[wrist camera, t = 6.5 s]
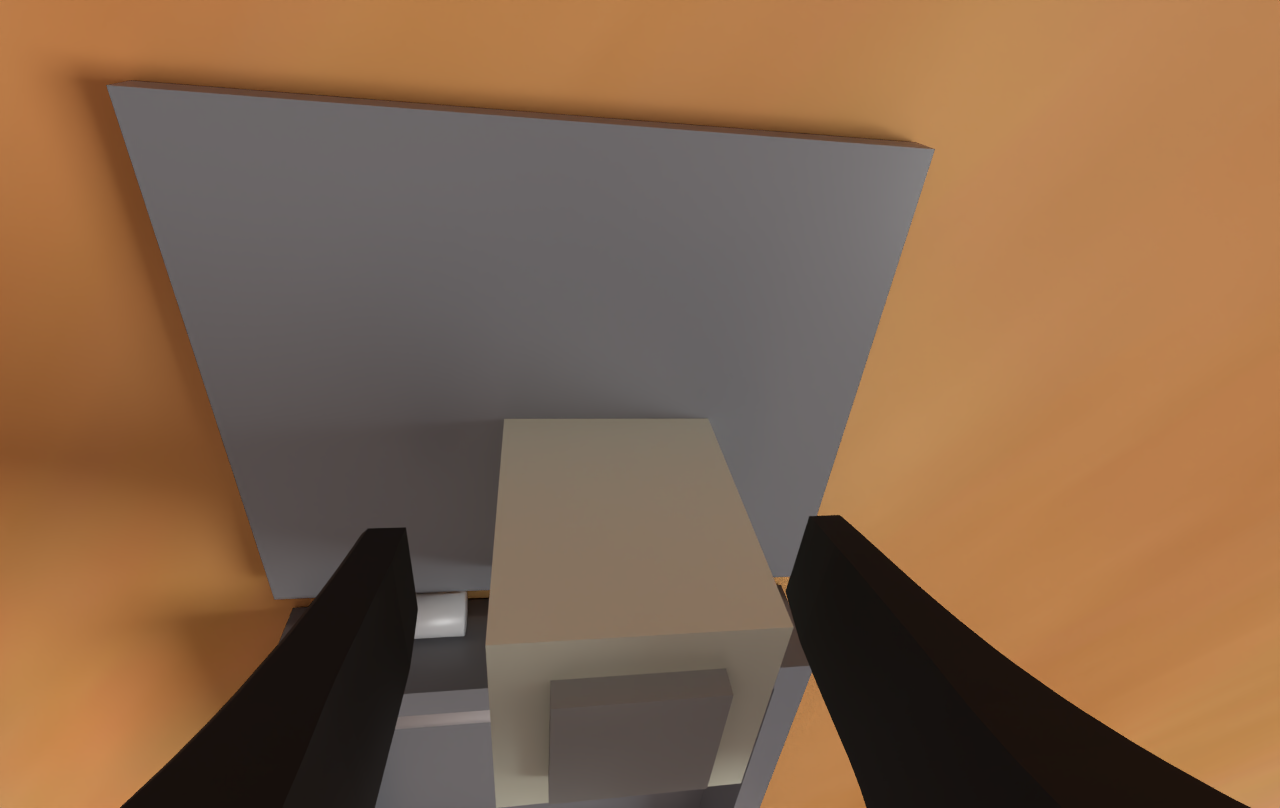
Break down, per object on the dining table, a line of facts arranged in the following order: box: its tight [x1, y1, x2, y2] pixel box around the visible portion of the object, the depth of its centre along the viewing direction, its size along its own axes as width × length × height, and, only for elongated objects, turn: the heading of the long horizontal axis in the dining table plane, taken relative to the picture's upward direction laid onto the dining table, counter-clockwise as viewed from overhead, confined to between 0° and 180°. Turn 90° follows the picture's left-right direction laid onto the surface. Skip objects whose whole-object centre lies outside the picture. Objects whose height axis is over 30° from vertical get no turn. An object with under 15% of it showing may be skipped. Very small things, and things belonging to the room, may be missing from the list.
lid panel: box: [106, 80, 935, 639], centre depth 12 cm, size 11×12×1 cm
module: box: [485, 419, 794, 808], centre depth 11 cm, size 4×4×5 cm
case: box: [279, 585, 812, 808], centre depth 18 cm, size 14×12×2 cm
